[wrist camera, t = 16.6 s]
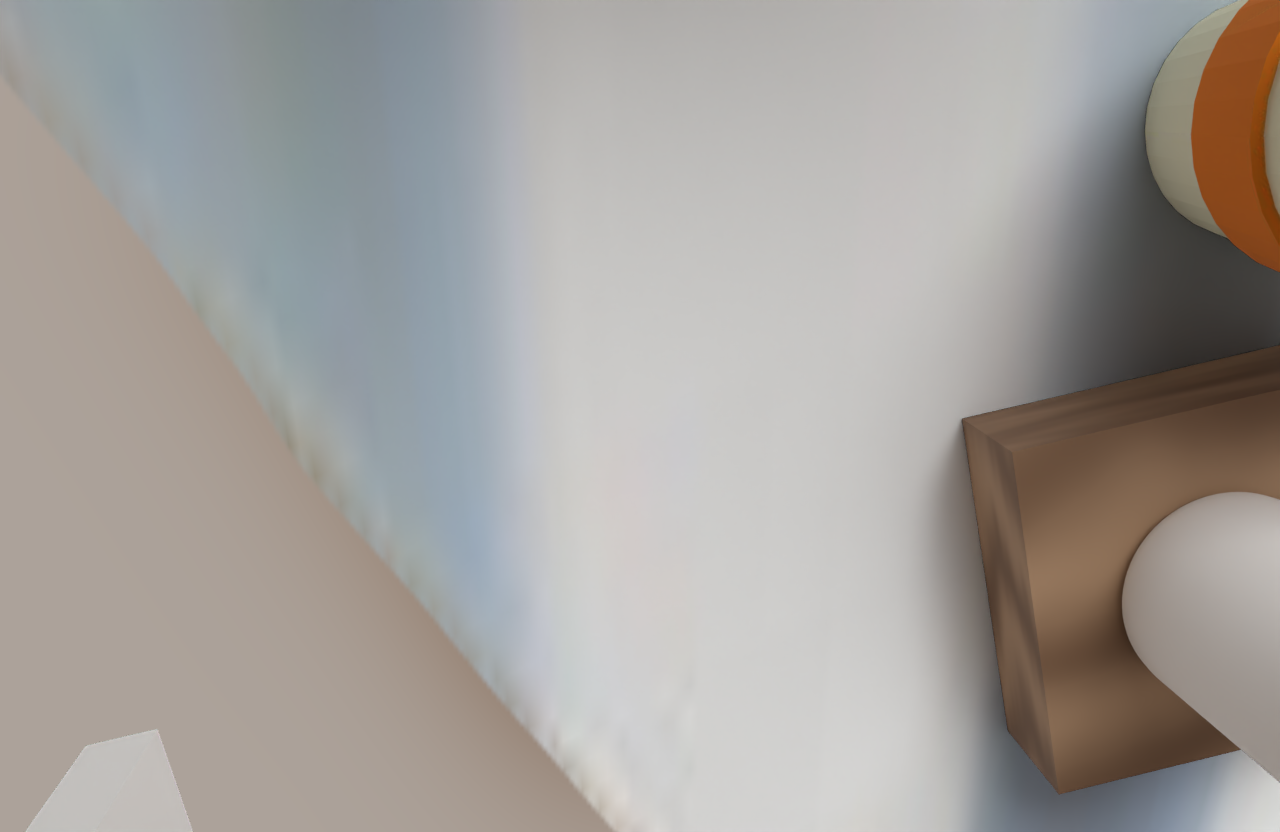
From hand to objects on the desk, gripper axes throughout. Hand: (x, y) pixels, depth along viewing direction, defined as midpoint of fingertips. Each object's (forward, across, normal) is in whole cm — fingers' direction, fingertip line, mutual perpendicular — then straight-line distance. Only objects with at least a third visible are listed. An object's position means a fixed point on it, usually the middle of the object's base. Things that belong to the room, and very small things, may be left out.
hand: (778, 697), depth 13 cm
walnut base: (+33, +20, -15) cm, 41 cm away
